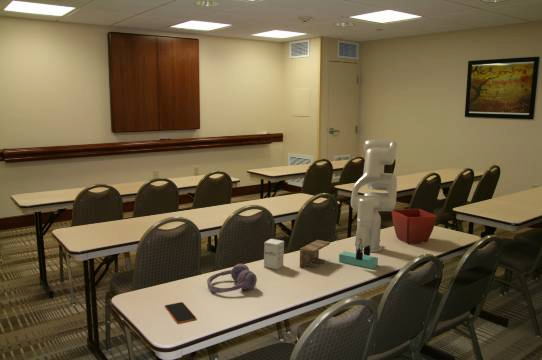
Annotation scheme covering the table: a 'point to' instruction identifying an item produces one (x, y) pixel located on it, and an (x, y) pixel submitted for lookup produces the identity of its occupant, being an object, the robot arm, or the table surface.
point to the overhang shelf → (312, 253)
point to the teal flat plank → (351, 259)
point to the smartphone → (180, 312)
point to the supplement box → (273, 253)
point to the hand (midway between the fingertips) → (363, 257)
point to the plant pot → (413, 225)
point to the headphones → (238, 274)
